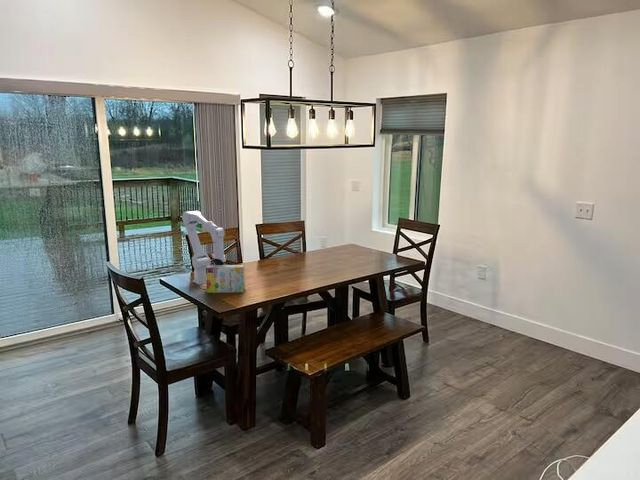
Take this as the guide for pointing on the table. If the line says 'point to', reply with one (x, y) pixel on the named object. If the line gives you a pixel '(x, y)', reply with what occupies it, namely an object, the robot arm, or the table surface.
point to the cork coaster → (203, 286)
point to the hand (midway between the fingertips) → (219, 271)
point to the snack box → (225, 278)
